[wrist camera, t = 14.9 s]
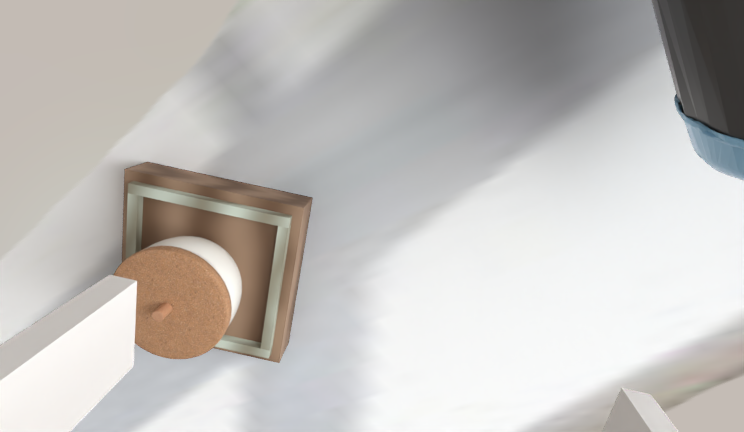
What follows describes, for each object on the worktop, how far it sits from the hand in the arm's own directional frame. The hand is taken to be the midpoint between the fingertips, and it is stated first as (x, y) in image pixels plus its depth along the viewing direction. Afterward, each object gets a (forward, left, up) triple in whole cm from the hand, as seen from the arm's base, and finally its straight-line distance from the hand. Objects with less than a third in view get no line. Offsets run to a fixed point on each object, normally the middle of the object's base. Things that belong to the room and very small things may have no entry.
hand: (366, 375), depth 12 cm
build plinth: (+17, +15, -35) cm, 41 cm away
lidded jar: (+17, +15, -31) cm, 38 cm away
